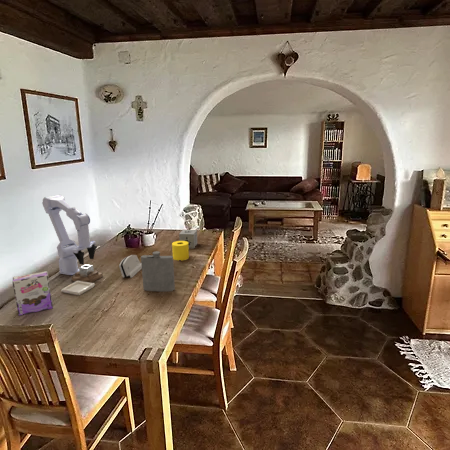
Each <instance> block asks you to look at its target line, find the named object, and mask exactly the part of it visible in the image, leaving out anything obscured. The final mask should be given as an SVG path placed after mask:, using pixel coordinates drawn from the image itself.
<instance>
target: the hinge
mask: <svg viewBox="0 0 450 450" xmlns="http://www.w3.org/2000/svg"><path fill="white" fill-rule="evenodd" d="M118 267H119V271H120V273H121V276H122V278H126V277H129V278H133V277H134V276H135V275H137V274H138V273H139V272H140V271H142V264H141V260H140V259H139V258H138V255H137V254H131V255H128V256H126V257H124V258H123V259H122V260H121V261H120V263H119V265H118Z"/></svg>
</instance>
